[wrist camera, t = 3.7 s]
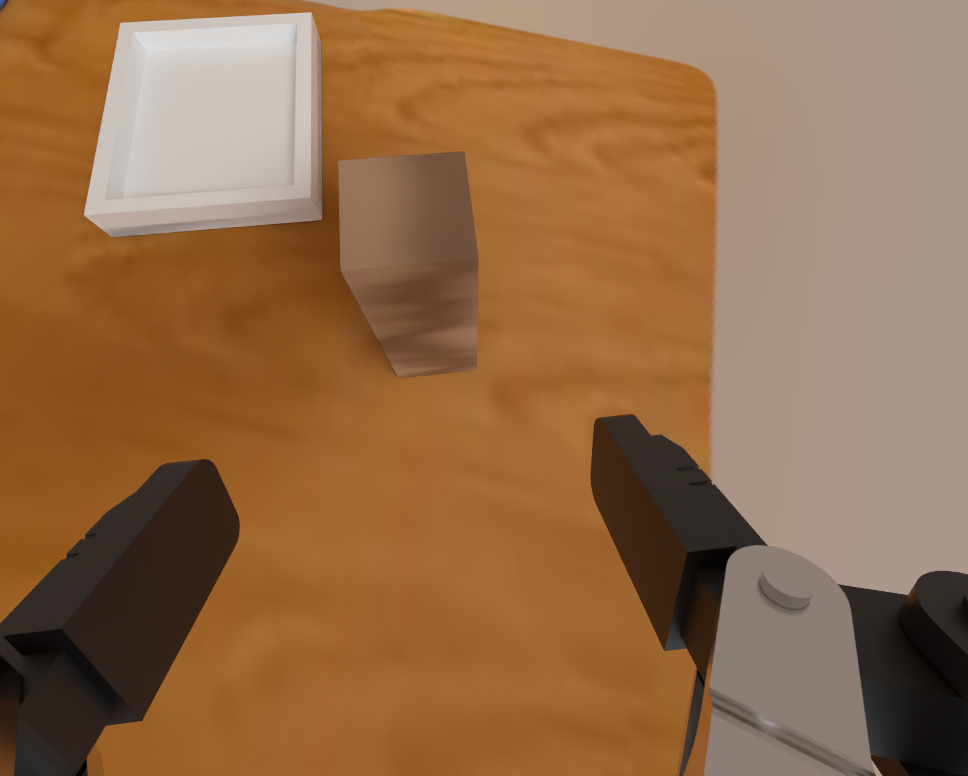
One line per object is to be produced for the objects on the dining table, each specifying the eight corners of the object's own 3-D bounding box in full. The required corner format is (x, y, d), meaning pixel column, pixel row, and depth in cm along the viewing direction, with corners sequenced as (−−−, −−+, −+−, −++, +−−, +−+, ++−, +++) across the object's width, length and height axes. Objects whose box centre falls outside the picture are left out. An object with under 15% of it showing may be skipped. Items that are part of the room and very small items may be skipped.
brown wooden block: (398, 378, 24) (340, 270, 14) (394, 308, 26) (338, 160, 15) (476, 370, 24) (478, 258, 14) (468, 301, 26) (464, 151, 15)
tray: (112, 237, 27) (83, 215, 25) (142, 53, 31) (120, 23, 29) (322, 219, 27) (310, 197, 25) (321, 42, 32) (311, 12, 30)
